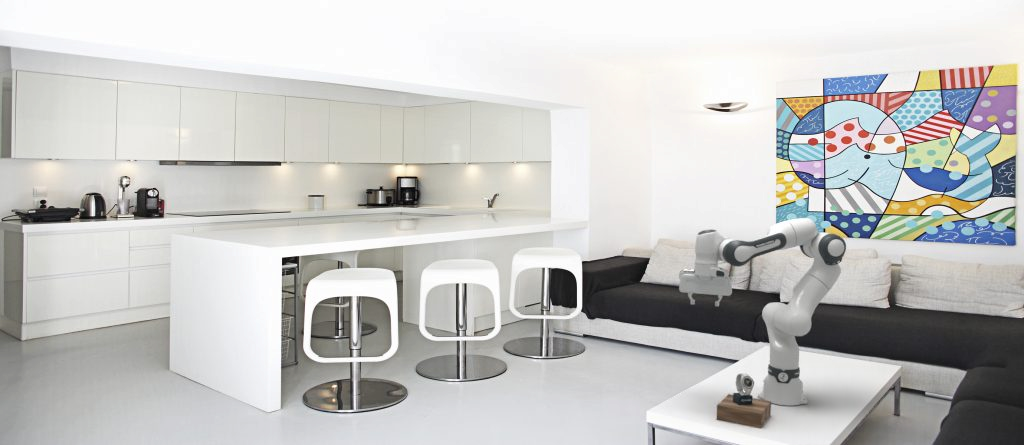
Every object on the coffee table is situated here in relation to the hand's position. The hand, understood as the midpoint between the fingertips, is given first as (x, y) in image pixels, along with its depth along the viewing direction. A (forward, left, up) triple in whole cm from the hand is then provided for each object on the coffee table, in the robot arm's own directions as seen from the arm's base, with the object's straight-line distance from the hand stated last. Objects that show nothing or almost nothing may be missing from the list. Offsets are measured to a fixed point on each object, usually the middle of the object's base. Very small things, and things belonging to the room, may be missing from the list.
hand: (704, 305), depth 288 cm
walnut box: (+13, +17, -40) cm, 45 cm away
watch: (+13, +17, -34) cm, 40 cm away
